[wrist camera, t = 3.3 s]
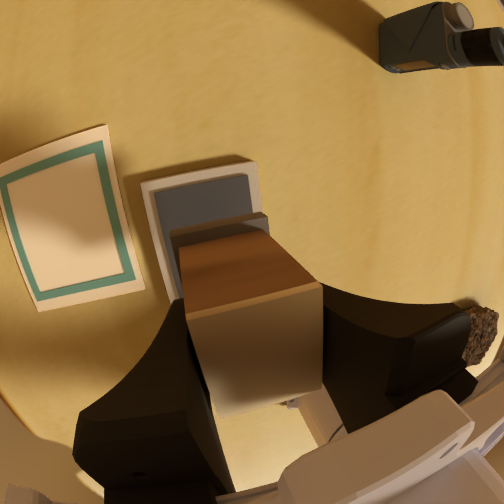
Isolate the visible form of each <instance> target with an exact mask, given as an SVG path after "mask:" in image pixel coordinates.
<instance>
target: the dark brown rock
mask: <svg viewBox="0 0 504 504" xmlns="http://www.w3.org/2000/svg"><path fill="white" fill-rule="evenodd" d="M464 311H465V312H466V313H467V314H469V315H470V318H471V332H470V336H469V339H468V342H467V344H466V347H465V350H464V352H463V355H462V358H463V359H464V360H465V361H466V362H467V364H468V365H467V367H469V366H472V365H477V364H480V362H481V361H482V358H483V357H485V353H486V352H487V351H488V350H489V347H490V346H491V343H492V342H493V341H494V339H495V336H496V335H497V333H498V332H497V321H498V318H499V314H498V313H497V312H494V310H491V309H489V308H487V307H485V308H483V307H481V306H473V307H471V309H465V310H464Z"/></svg>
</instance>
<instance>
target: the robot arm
mask: <svg viewBox="0 0 504 504" xmlns="http://www.w3.org/2000/svg"><path fill="white" fill-rule="evenodd" d="M319 283H320V282H319ZM320 284H321V285H322V286H323V371H322V389H319V390H316V391H314V392H311V393H308V394H305V395H302V396H299V397H296V398H293V399H290V400H287V401H286V404H287V408H288V409H294V408H297V407H298V409H299V411H300V413H301V415H302V416H303V418H304V420H305V422H306V424H307V426H308V428H309V430H310V432H311V434H312V436H313V437H314V439H315V441H316V443H317V445H318V446H319V447H318V448H316V449H314V450H312V451H310V452H308V453H306V454H304V455H302V456H301V457H299V458H298V459H297V460H295V461H294V462H293V463H291V464H290V465H289V466H287V467H286V468H285V469H284V471H283V472H282V474H281V477H280V479H279V481H278V482H274V483H271V484H268V485H264V486H260V487H256V488H252V489H248V490H244V491H240V492H236V491H235V488H234V485H233V482H232V479H231V476H230V473H229V469H228V466H227V463H226V460H225V456H224V453H223V450H222V446H221V443H220V439H219V435H218V432H217V428H216V424H215V420H214V416H213V412H212V407H211V400H210V392H209V389H208V387H207V384H206V381H205V378H204V375H203V372H202V369H201V366H200V363H199V360H198V357H197V354H196V351H195V348H194V344H193V341H192V338H191V335H190V331H189V328H188V325H187V322H186V315H185V306H184V298H180V299H176V300H173V302H172V304H171V306H170V309H169V311H168V313H167V316H166V318H165V320H164V322H163V324H162V326H161V328H160V330H159V332H158V334H157V335H156V337H155V339H154V340H153V342H152V344H151V345H150V347H149V348H148V350H147V351H146V353H145V354H144V356H143V357H142V358H141V359H140V361H139V362H138V363H137V364H136V365H135V366H134V368H133V369H132V370H131V371H130V372H129V373H128V374H127V375H126V376H125V377H124V378H123V379H122V380H121V381H120V382H119V383H118V384H117V385H116V386H115V387H113V388H112V389H111V390H110V391H109V392H108V393H106V394H105V395H104V396H102V397H101V398H100V399H98V400H97V401H95V402H94V403H93V404H91V405H90V406H88V407H87V408H85V409H84V410H82V411H81V412H80V413H79V417H78V421H77V424H76V431H75V438H74V445H73V453H72V455H73V457H74V460H75V462H76V463H77V464H78V465H79V466H80V467H81V469H82V470H84V471H85V472H86V473H87V474H88V475H89V476H90V477H92V478H93V479H94V480H95V481H96V482H98V483H99V484H100V485H101V486H102V487H104V504H504V481H503V480H502V478H501V477H500V476H499V475H498V474H497V472H495V470H494V469H493V468H492V467H491V466H490V465H489V463H488V462H487V461H486V460H485V459H484V458H483V456H484V455H485V454H487V453H488V451H490V450H491V448H493V446H494V445H495V444H496V443H497V442H498V441H499V440H500V439H501V438H502V437H503V436H504V347H503V349H502V351H501V354H500V357H499V358H498V359H497V360H496V361H495V362H494V363H493V364H492V365H490V366H489V367H488V368H487V369H486V370H485V371H483V372H482V373H481V374H480V375H478V376H477V377H476V378H475V377H474V376H472V375H471V374H470V373H469V372H468V371H467V370H466V369H465V368H466V367H467V365H468V364H467V362H466V361H465V360H464V359H463V358H462V355H463V352H464V350H465V347H466V344H467V342H468V339H469V336H470V332H471V318H470V315H469V314H467V313H466V312H465V311H463V310H462V309H461V308H459V307H458V306H457V305H455V304H454V303H442V304H405V303H395V302H388V301H381V300H375V299H371V298H366V297H362V296H358V295H354V294H351V293H348V292H345V291H342V290H339V289H336V288H333V287H331V286H328V285H325V284H323V283H320ZM4 504H76V503H66V502H57V501H51V500H50V499H49V498H48V497H47V496H46V495H44V494H43V493H41V492H39V491H37V490H35V489H32V488H27V487H22V486H17V485H12V484H8V485H7V490H6V496H5V503H4Z"/></svg>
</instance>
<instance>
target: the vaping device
mask: <svg viewBox="0 0 504 504" xmlns="http://www.w3.org/2000/svg"><path fill="white" fill-rule="evenodd" d="M473 28H474V21H473V18H472V16H471V14H470V12H469V10H468V9H467V8H466V7H465V6H464V5H463V4H462V3H459V2H458V3H454V4H451V3H449V2H433V3H430V4H427V5H423V6H420V7H417V8H414V9H411V10H408V11H406V12H403V13H400V14H397V15H394V16H392V17H389V18H387V19H385V20H384V22H383V23H381V24H380V26H379V44H380V64H381V66H382V67H384V68H385V69H386V70H388V71H389V72H392V73H406V72H413V71H420V70H428V69H437V68H440V69H446V70H450V69H454V68H466V67H472V66H504V29H503V28H501V27H493V28H484V29H476V30H472V29H473ZM467 30H468V31H467ZM496 64H497V65H496ZM500 64H501V65H500Z"/></svg>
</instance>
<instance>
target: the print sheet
mask: <svg viewBox="0 0 504 504" xmlns="http://www.w3.org/2000/svg"><path fill="white" fill-rule="evenodd" d="M0 206H1V210H2V214H3V218H4V221H5V225H6V228H7V232H8V235H9V238H10V241H11V244H12V247H13V250H14V253H15V256H16V259H17V262H18V264H19V267H20V270H21V272H22V275H23V277H24V280H25V282H26V285H27V287H28V290H29V292H30V294H31V297H32V299H33V301H34V303H35V306H36V308H37V310H38V312H42V311H47V310H51V309H56V308H61V307H66V306H71V305H76V304H80V303H85V302H90V301H95V300H99V299H104V298H109V297H113V296H118V295H123V294H127V293H132V292H137V291H141V290H145V289H146V287H145V284H144V281H143V277H142V274H141V271H140V267H139V264H138V261H137V257H136V254H135V250H134V246H133V243H132V239H131V235H130V231H129V228H128V224H127V220H126V216H125V211H124V207H123V203H122V198H121V194H120V189H119V185H118V180H117V175H116V170H115V165H114V160H113V154H112V148H111V143H110V136H109V130H108V125H104V126H100V127H97V128H93V129H90V130H87V131H84V132H81V133H77V134H74V135H71V136H68V137H66V138H63V139H60V140H57V141H54V142H52V143H49V144H46V145H44V146H41V147H38V148H36V149H33V150H31V151H28V152H26V153H24V154H21V155H19V156H17V157H14V158H12V159H10V160H8V161H5V162H3V163H1V164H0Z"/></svg>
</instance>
